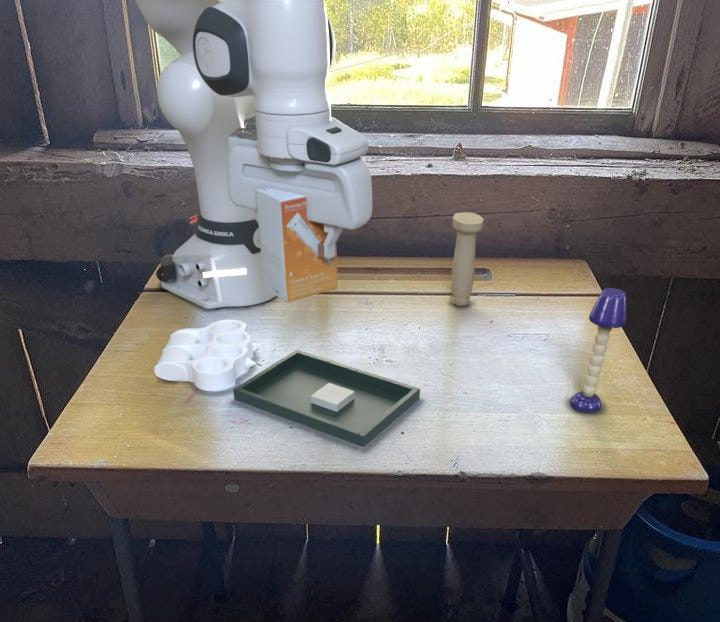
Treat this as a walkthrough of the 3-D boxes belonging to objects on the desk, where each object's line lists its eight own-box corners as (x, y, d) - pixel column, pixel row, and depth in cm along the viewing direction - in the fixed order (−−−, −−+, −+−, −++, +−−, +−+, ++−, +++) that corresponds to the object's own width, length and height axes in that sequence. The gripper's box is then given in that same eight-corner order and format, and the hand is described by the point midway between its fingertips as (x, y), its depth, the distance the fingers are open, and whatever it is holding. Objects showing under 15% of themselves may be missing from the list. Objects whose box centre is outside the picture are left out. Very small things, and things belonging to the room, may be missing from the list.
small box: (287, 304, 94) (279, 201, 85) (263, 288, 98) (253, 188, 90) (339, 289, 97) (336, 188, 89) (313, 274, 101) (308, 176, 93)
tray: (234, 402, 102) (232, 389, 100) (297, 361, 112) (296, 349, 110) (363, 450, 92) (363, 436, 91) (419, 401, 102) (420, 388, 101)
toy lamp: (577, 393, 104) (601, 281, 94) (609, 402, 102) (637, 289, 92) (565, 407, 101) (589, 293, 91) (598, 417, 99) (626, 302, 89)
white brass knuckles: (177, 337, 118) (267, 338, 118) (150, 393, 104) (253, 394, 103) (174, 318, 116) (265, 319, 116) (146, 372, 102) (251, 373, 101)
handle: (450, 310, 127) (457, 224, 118) (443, 296, 132) (450, 212, 123) (477, 310, 128) (486, 223, 119) (469, 295, 133) (478, 212, 124)
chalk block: (310, 403, 101) (310, 395, 100) (329, 389, 104) (328, 382, 103) (337, 412, 99) (336, 404, 98) (354, 398, 102) (354, 391, 101)
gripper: (210, 130, 88) (223, 243, 97) (350, 151, 79) (351, 273, 88) (244, 121, 93) (253, 230, 101) (380, 140, 84) (378, 258, 92)
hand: (299, 250), depth 94 cm, fingers closed on small box, 7 cm apart
